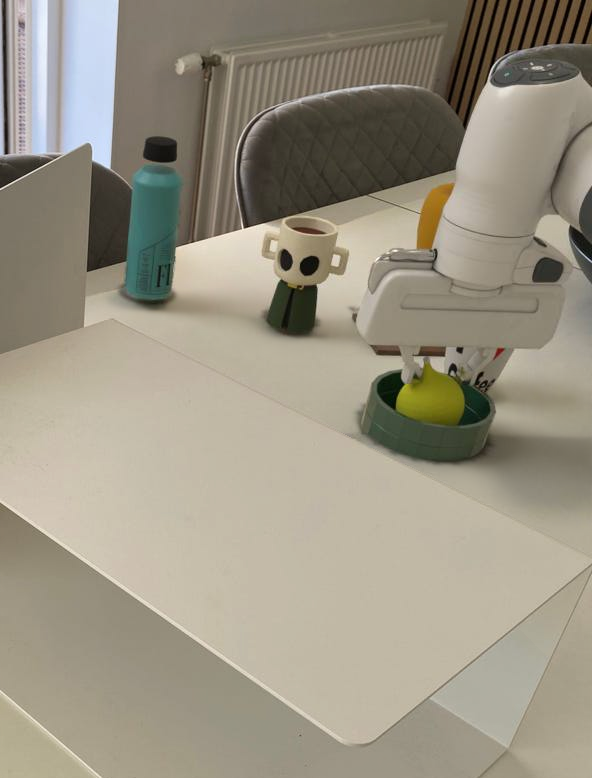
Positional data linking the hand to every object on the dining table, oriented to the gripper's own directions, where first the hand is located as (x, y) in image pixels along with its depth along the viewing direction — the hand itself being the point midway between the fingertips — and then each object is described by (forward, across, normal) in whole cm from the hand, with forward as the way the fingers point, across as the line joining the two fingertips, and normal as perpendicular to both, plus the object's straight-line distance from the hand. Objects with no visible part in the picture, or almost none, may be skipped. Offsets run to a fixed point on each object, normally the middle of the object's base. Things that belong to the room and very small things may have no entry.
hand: (437, 382), depth 105 cm
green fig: (+6, 0, 0) cm, 6 cm away
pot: (+7, 0, 0) cm, 7 cm away
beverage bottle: (+7, -26, +35) cm, 44 cm away
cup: (+7, +10, +12) cm, 17 cm away
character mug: (+7, -8, +28) cm, 30 cm away
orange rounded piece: (+7, +20, +47) cm, 52 cm away
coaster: (+7, +7, +26) cm, 28 cm away
